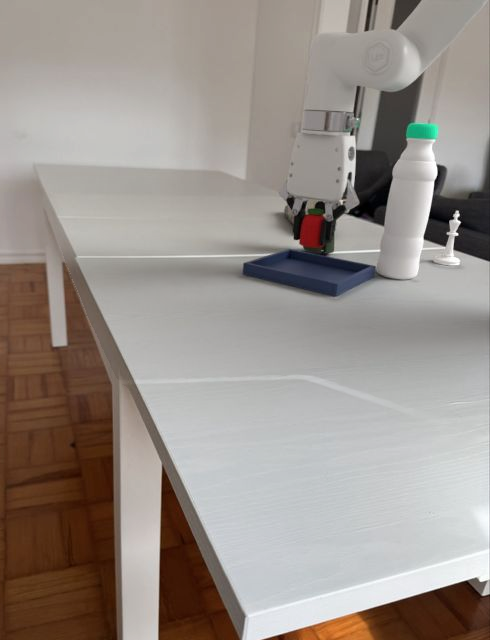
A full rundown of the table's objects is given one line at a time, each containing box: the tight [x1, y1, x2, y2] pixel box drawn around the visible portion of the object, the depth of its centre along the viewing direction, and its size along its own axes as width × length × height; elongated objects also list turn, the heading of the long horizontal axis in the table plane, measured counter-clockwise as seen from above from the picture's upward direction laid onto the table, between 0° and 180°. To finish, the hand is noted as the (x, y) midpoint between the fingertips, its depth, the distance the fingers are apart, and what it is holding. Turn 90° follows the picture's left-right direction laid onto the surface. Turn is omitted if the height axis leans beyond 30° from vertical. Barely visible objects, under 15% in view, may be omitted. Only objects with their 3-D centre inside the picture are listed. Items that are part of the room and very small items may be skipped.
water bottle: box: [375, 122, 439, 281], centre depth 93 cm, size 7×7×25 cm
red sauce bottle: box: [298, 208, 325, 247], centre depth 91 cm, size 4×4×6 cm
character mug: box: [302, 199, 350, 254], centre depth 109 cm, size 11×7×13 cm, turn 99°
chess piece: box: [432, 210, 462, 267], centre depth 106 cm, size 5×5×10 cm
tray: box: [242, 248, 377, 297], centre depth 94 cm, size 17×15×2 cm
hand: (312, 240), depth 92 cm, fingers closed on red sauce bottle, 4 cm apart
